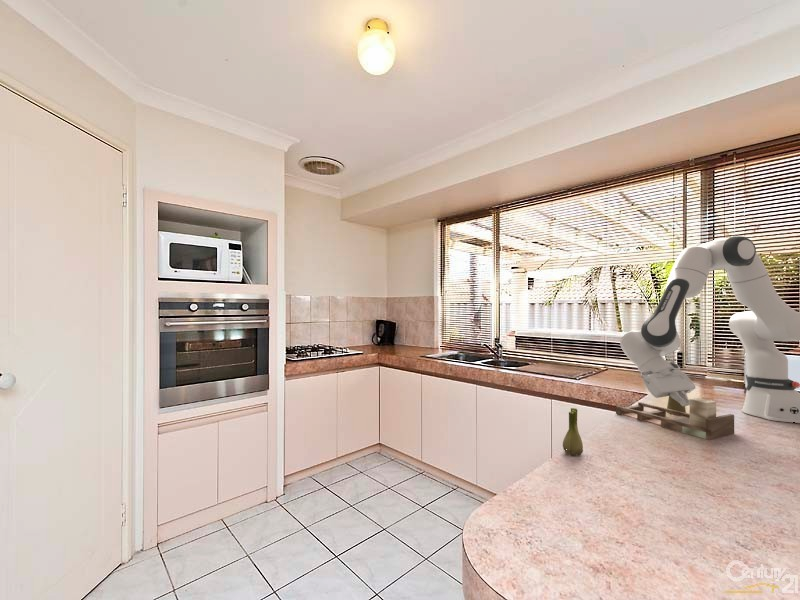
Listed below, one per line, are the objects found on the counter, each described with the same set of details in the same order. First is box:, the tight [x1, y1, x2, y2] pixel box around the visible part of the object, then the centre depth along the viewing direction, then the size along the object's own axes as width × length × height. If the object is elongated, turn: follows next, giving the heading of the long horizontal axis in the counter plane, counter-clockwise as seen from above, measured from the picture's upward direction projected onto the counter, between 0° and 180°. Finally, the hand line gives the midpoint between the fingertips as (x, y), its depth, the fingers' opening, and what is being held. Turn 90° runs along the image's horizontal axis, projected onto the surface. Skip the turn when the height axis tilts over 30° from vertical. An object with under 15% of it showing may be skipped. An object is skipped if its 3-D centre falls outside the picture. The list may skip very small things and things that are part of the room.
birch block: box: [689, 397, 717, 428], centre depth 122 cm, size 5×5×8 cm
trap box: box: [615, 402, 735, 441], centre depth 131 cm, size 30×14×6 cm, turn 25°
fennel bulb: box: [562, 407, 584, 456], centre depth 102 cm, size 6×5×12 cm
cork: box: [666, 396, 687, 416], centre depth 144 cm, size 6×6×11 cm
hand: (687, 405), depth 126 cm, fingers closed
